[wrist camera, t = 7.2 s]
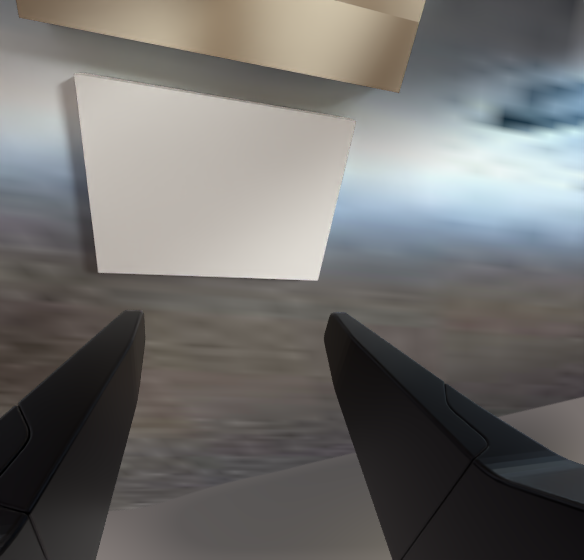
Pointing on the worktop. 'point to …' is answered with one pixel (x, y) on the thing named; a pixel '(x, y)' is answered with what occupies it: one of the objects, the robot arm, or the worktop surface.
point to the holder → (260, 31)
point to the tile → (207, 181)
